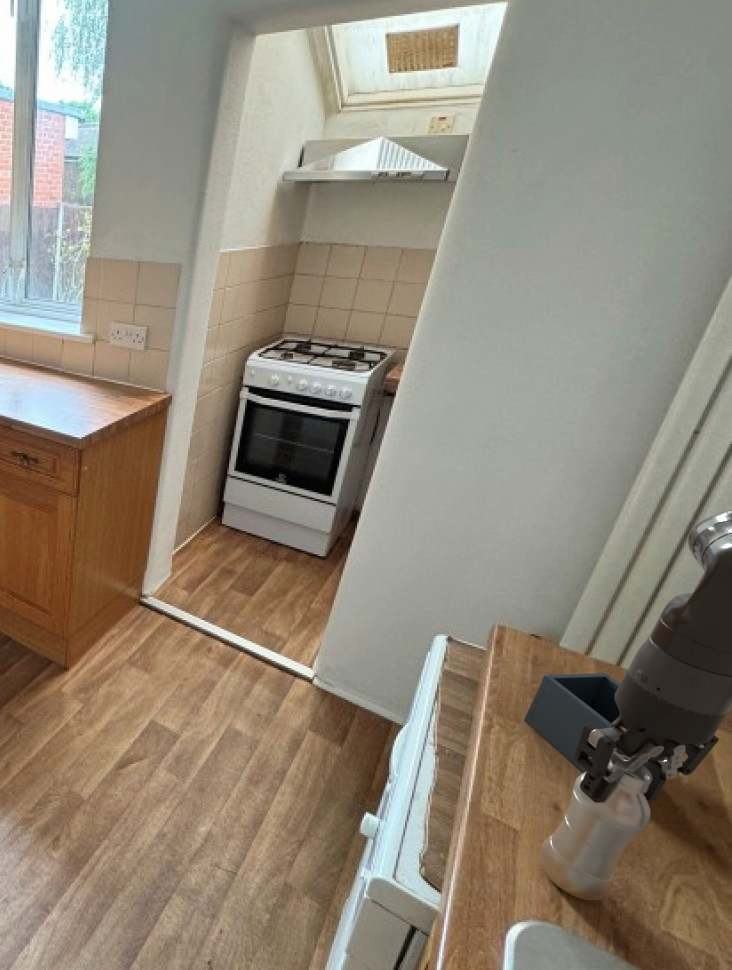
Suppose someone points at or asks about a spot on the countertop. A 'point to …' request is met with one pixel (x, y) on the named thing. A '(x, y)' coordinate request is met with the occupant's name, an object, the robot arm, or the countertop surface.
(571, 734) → the bin
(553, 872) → the plastic bottle
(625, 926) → the countertop surface
